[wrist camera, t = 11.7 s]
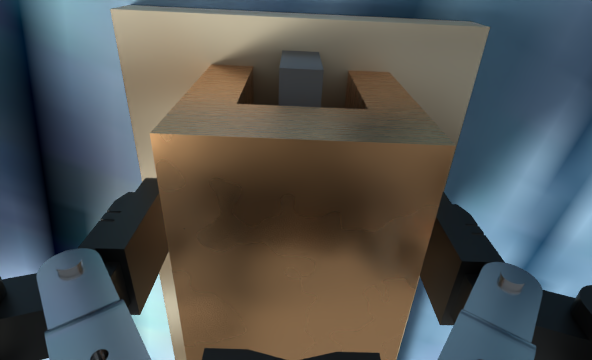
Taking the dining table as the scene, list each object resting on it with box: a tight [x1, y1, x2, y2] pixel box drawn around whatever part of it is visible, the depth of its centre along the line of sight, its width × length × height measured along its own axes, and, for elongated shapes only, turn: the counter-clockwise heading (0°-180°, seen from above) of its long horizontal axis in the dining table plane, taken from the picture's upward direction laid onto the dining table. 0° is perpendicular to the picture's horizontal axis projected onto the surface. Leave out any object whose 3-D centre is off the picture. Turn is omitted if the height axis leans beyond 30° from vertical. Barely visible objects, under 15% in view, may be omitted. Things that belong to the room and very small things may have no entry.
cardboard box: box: [150, 64, 456, 360], centre depth 12 cm, size 8×6×6 cm
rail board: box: [110, 5, 490, 360], centre depth 17 cm, size 22×12×4 cm, turn 177°
